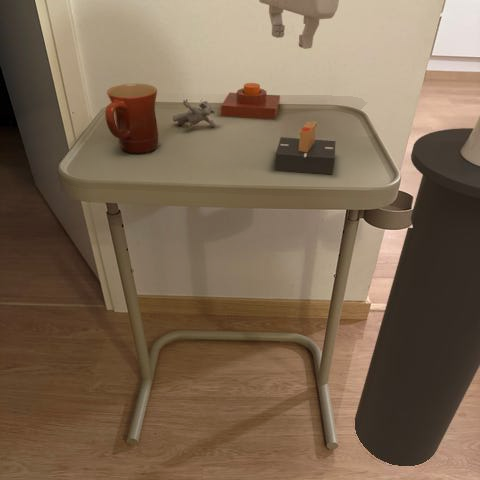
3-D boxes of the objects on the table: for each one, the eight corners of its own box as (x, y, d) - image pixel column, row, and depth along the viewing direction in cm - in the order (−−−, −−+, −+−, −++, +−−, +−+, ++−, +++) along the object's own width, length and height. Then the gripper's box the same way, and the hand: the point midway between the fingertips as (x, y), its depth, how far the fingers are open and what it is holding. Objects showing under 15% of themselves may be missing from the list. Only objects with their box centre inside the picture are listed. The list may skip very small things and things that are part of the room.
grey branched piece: (194, 118, 102) (226, 110, 96) (190, 144, 101) (222, 137, 96) (161, 94, 94) (194, 84, 88) (157, 123, 93) (190, 113, 88)
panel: (333, 155, 86) (335, 138, 84) (332, 176, 80) (335, 158, 78) (279, 152, 88) (281, 135, 86) (274, 171, 81) (275, 154, 79)
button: (260, 91, 105) (260, 83, 104) (258, 96, 102) (258, 87, 101) (244, 90, 105) (245, 82, 104) (242, 95, 103) (242, 86, 101)
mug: (134, 136, 93) (126, 81, 86) (171, 144, 90) (166, 87, 83) (96, 158, 85) (84, 98, 78) (136, 166, 82) (127, 105, 75)
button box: (279, 105, 109) (280, 86, 106) (274, 119, 102) (275, 99, 99) (229, 102, 111) (229, 84, 108) (221, 115, 103) (220, 96, 100)
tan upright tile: (305, 141, 84) (308, 119, 81) (314, 142, 83) (317, 121, 81) (298, 151, 80) (300, 129, 78) (307, 152, 80) (309, 130, 77)
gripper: (249, -65, 76) (248, 32, 86) (316, -59, 63) (305, 56, 72) (283, -65, 78) (278, 30, 88) (354, -60, 65) (339, 52, 74)
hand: (290, 42), depth 80 cm, fingers open, 8 cm apart
